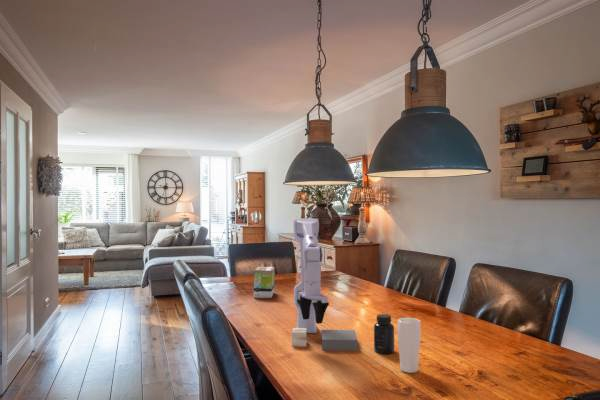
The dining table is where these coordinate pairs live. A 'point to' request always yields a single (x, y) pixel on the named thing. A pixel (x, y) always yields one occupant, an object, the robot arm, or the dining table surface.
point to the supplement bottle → (384, 335)
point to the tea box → (264, 282)
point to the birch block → (299, 337)
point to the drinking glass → (409, 343)
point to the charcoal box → (339, 340)
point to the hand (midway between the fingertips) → (312, 321)
